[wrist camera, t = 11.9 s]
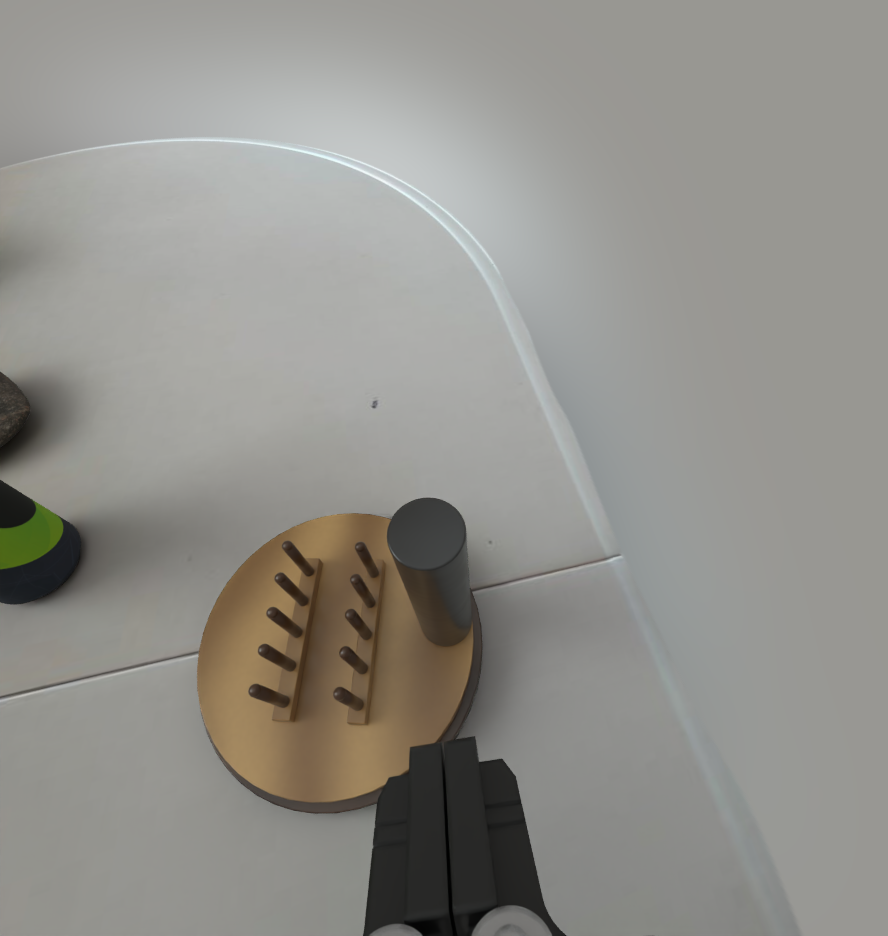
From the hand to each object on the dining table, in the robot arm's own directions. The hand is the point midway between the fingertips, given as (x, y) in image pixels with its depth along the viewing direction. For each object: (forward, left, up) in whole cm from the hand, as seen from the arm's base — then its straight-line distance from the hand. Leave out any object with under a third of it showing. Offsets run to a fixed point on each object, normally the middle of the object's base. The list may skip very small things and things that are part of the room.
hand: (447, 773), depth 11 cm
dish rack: (+10, +3, -17) cm, 20 cm away
